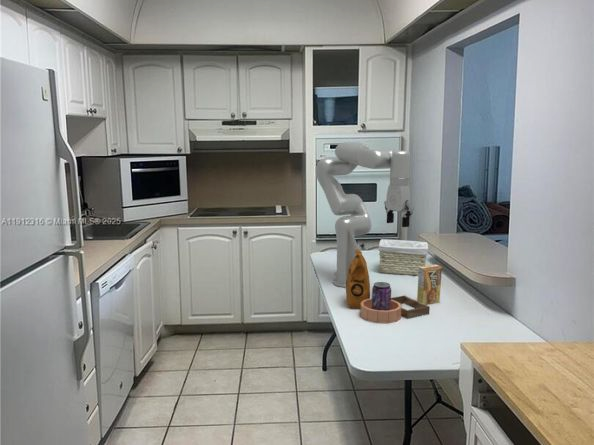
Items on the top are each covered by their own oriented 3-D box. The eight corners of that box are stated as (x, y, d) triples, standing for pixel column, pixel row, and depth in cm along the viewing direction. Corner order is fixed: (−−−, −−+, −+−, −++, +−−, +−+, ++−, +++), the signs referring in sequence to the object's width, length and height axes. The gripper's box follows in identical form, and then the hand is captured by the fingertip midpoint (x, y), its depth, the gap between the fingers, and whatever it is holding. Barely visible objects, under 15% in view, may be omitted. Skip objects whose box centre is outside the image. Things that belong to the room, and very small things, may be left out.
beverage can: (369, 311, 192) (370, 281, 190) (387, 311, 193) (388, 281, 191) (373, 318, 185) (374, 287, 183) (392, 317, 186) (393, 286, 184)
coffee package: (343, 308, 197) (345, 254, 193) (346, 298, 209) (347, 247, 205) (369, 310, 195) (371, 256, 191) (370, 300, 207) (372, 248, 203)
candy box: (433, 299, 209) (435, 264, 206) (440, 302, 205) (442, 266, 202) (416, 302, 205) (418, 266, 202) (423, 305, 201) (425, 268, 198)
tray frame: (382, 306, 200) (382, 299, 199) (404, 302, 205) (404, 295, 204) (406, 318, 187) (407, 311, 186) (429, 314, 192) (429, 306, 191)
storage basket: (426, 269, 256) (427, 241, 254) (427, 277, 241) (428, 248, 238) (379, 266, 261) (380, 238, 259) (377, 274, 246) (378, 245, 243)
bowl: (352, 312, 193) (353, 301, 192) (384, 306, 199) (384, 295, 199) (376, 325, 180) (376, 313, 179) (408, 319, 186) (409, 307, 186)
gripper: (378, 180, 203) (377, 222, 206) (406, 184, 187) (404, 229, 191) (393, 180, 206) (391, 220, 209) (421, 184, 191) (419, 227, 194)
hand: (397, 224), depth 200 cm, fingers open, 9 cm apart
